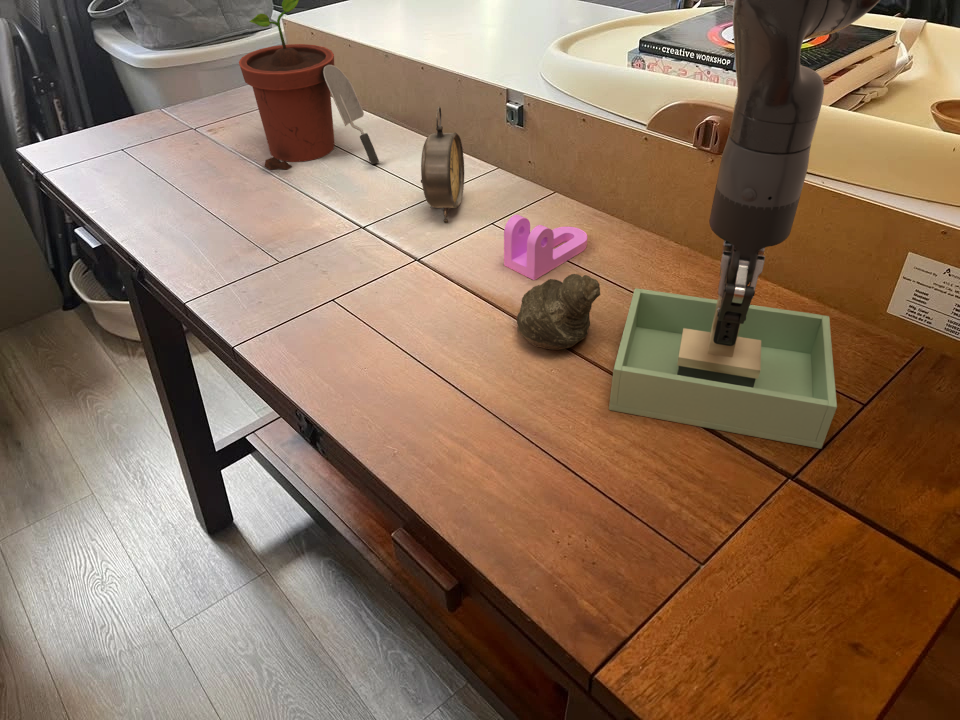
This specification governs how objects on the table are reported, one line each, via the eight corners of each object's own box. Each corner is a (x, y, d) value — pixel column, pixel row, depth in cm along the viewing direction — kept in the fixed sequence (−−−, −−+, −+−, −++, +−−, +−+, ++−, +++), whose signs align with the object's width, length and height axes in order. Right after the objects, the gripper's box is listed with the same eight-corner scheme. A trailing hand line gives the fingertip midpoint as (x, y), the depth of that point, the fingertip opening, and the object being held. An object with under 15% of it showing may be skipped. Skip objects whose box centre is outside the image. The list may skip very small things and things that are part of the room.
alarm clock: (454, 227, 114) (449, 122, 104) (419, 225, 115) (411, 120, 104) (467, 194, 122) (463, 93, 112) (434, 192, 123) (427, 92, 113)
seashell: (570, 339, 82) (633, 302, 87) (509, 252, 84) (573, 221, 89) (531, 377, 92) (589, 342, 96) (477, 299, 94) (536, 269, 98)
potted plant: (337, 123, 147) (316, -18, 131) (380, 164, 132) (363, 10, 116) (246, 142, 140) (213, -4, 125) (281, 188, 125) (249, 29, 110)
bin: (816, 356, 88) (829, 315, 85) (821, 449, 77) (837, 407, 73) (629, 327, 94) (634, 287, 90) (608, 410, 82) (613, 368, 78)
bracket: (534, 280, 102) (535, 234, 98) (504, 265, 105) (503, 220, 101) (594, 244, 109) (598, 200, 105) (564, 231, 112) (567, 187, 108)
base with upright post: (755, 362, 85) (775, 286, 79) (754, 393, 81) (775, 315, 75) (679, 350, 87) (693, 275, 81) (674, 379, 83) (688, 303, 77)
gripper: (803, 226, 64) (759, 381, 75) (800, 158, 74) (762, 303, 85) (712, 215, 66) (682, 368, 77) (721, 150, 76) (693, 293, 87)
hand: (724, 333), depth 81 cm, fingers closed on base with upright post, 2 cm apart
